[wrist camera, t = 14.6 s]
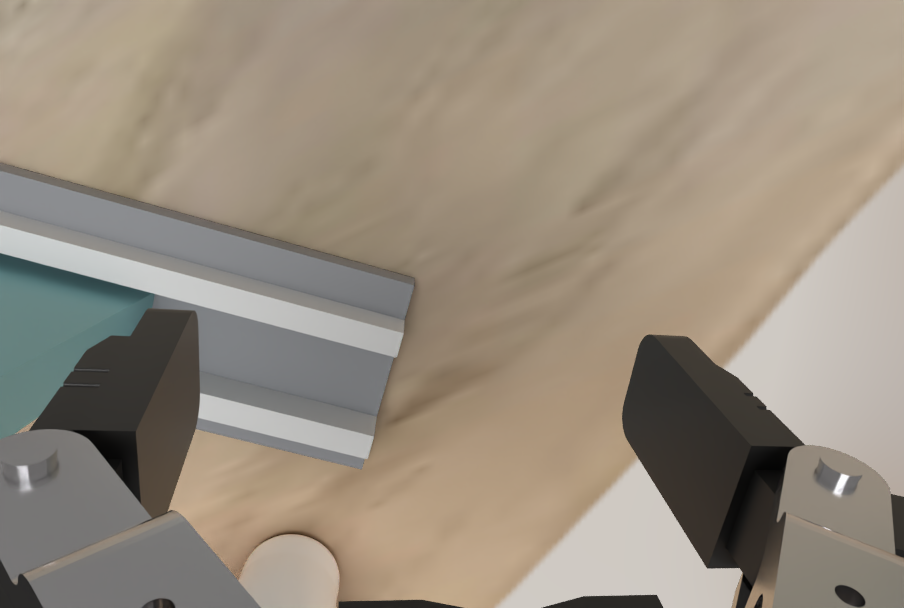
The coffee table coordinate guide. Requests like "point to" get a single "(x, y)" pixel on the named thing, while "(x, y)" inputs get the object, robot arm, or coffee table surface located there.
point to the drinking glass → (291, 574)
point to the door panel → (53, 331)
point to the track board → (233, 310)
